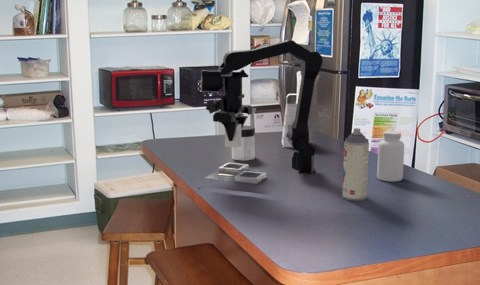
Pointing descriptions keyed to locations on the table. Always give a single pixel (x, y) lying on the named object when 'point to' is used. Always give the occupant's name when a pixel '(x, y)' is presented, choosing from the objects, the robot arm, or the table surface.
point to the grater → (288, 120)
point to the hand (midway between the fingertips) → (233, 139)
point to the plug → (236, 139)
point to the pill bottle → (390, 157)
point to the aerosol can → (355, 167)
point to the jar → (245, 145)
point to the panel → (239, 174)
